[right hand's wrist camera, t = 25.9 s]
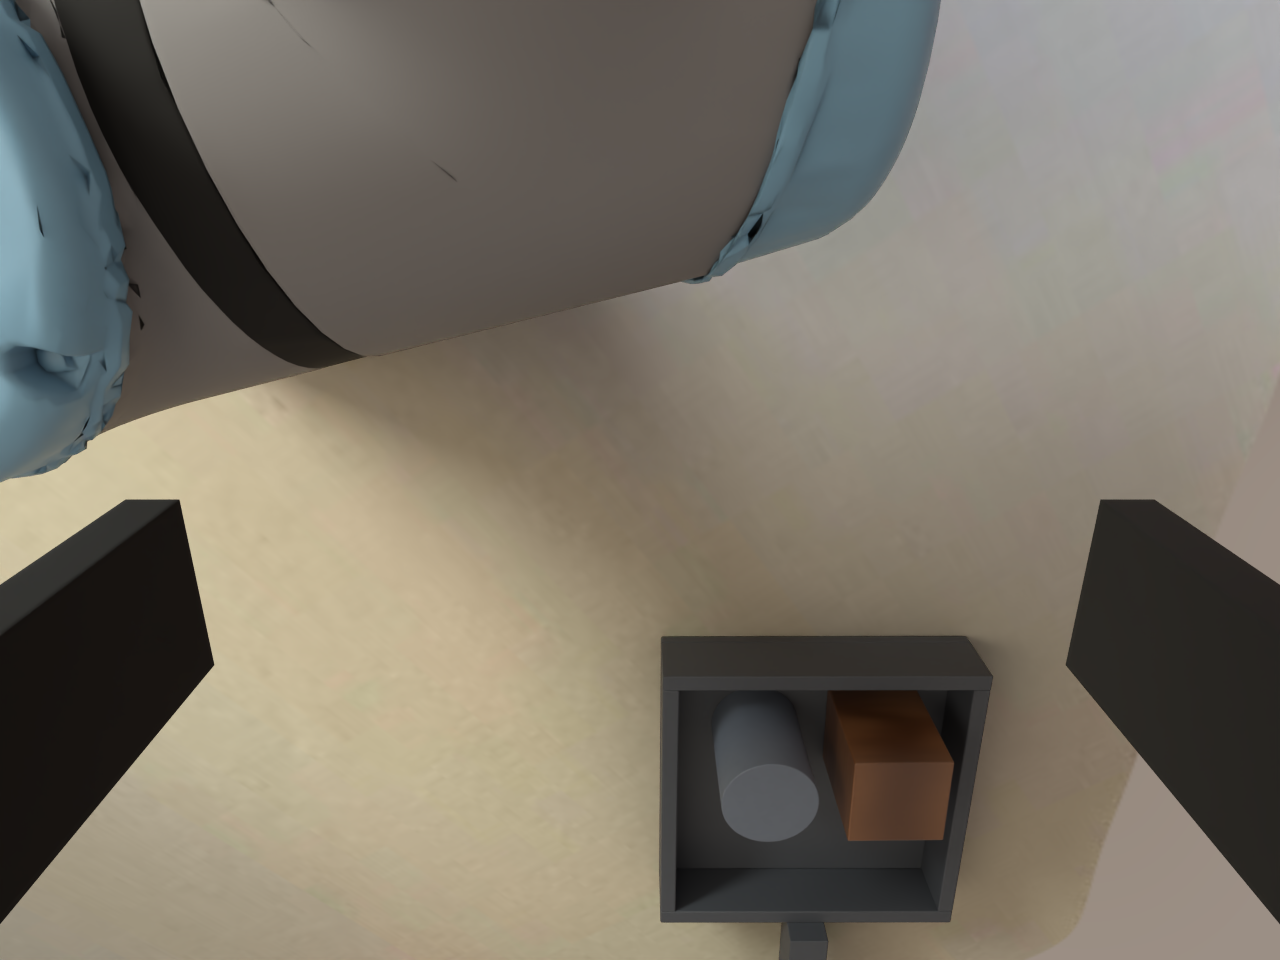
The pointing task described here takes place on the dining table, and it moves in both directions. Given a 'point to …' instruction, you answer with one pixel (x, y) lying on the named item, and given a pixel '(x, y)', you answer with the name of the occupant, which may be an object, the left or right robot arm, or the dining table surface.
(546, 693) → the dining table surface
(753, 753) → the grey cylinder
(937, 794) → the walnut block
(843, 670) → the tray
